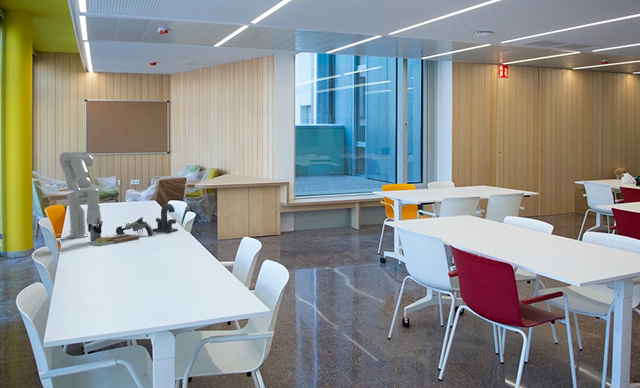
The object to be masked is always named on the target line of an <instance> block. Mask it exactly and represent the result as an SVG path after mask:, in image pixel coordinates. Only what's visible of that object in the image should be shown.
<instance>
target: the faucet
mask: <svg viewBox="0 0 640 388" xmlns="http://www.w3.org/2000/svg"><path fill="white" fill-rule="evenodd" d="M175 212H176V211H175V207H174V206H173V204H171V203H165V204H164V205H163V206H162V207H161V210H160V218H159V217H156V218H155V222H156V224H157V225H156V226H157V227H156V228H152V230H153V233H154V232H155V233H168V234H169V233H170V234H171V233H175V232H179V229H178V228H174V227H173V225H176V223H177V220H176V219H175V218H173V219H172V218H171V219H168V213H175Z"/></svg>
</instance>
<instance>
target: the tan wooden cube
mask: <svg viewBox="0 0 640 388" xmlns="http://www.w3.org/2000/svg"><path fill="white" fill-rule="evenodd" d="M102 237H103V236H101V238H96V243H104V242H105V238H102Z"/></svg>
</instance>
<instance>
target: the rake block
mask: <svg viewBox="0 0 640 388" xmlns="http://www.w3.org/2000/svg"><path fill="white" fill-rule="evenodd" d="M89 235H90V242H91V241H96V238H101V237H102V232H101V233H99V234H97V226H96V224H95V225H93V226H90V232H89Z"/></svg>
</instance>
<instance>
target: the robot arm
mask: <svg viewBox="0 0 640 388" xmlns="http://www.w3.org/2000/svg"><path fill="white" fill-rule="evenodd" d="M94 163H95V162H94V159H93V156H92V155H91V154H89V153H88V152H86V151H81V150H80V151H65V152H62V153H60V154H59V164H60V167H61V168H62V170H63V173H64V177H65V182H66V187H67V190H69V191H73V192H70V193H68V195H67V196H66V198H67V199H66V200H67V205H68V209H69V221H70V223H69V224H70V230H68V231H69V233H70V234H69V235H68V238H71V239H79V238H87V237H88V236H89V234H88V233H90V226H93V225H96V226H97V234H99V233H101V234H102V227H103V222H104V221H103V220H102V216H101V207H100V206H101V203H100V202H101V201H100V190H99V189H98V188H96V187H93V185H92V181H91V179H90V177H89V175H90V173H89V170H88V167H93V166H94ZM85 205H87V210H86V216H85V210H84V208H82V206H85ZM86 224H87V232H88V233H86Z"/></svg>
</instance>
